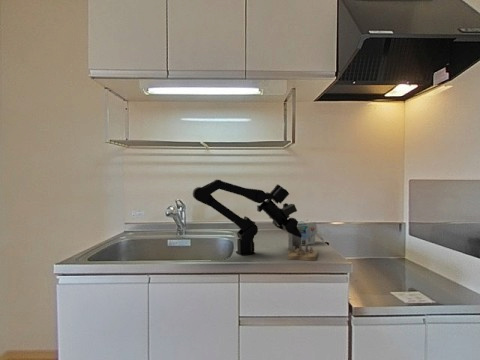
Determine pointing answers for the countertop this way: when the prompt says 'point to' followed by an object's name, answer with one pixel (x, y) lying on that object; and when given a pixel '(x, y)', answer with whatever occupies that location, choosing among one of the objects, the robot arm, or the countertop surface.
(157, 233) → the countertop surface
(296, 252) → the wooden peg board
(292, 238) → the block
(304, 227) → the light bulb box
